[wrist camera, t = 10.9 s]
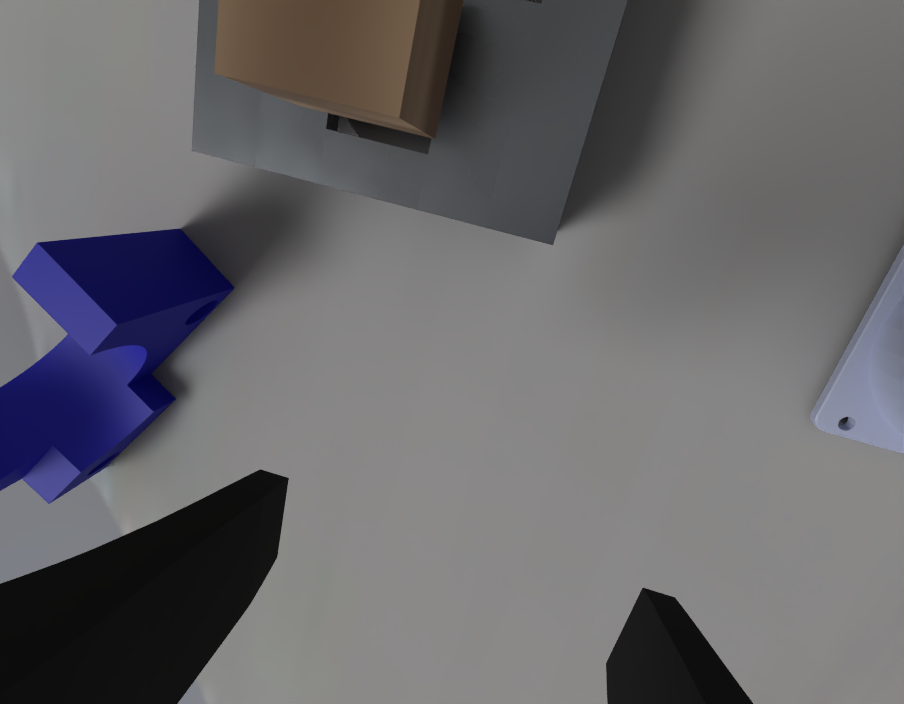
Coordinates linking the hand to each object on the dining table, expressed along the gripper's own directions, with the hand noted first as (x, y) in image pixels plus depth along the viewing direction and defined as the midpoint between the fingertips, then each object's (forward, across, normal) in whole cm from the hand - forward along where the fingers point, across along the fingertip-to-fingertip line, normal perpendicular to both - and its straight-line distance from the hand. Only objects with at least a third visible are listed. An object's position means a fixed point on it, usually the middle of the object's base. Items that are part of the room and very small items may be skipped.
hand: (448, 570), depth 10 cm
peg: (+10, +5, -10) cm, 15 cm away
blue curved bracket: (+10, +15, +3) cm, 18 cm away
